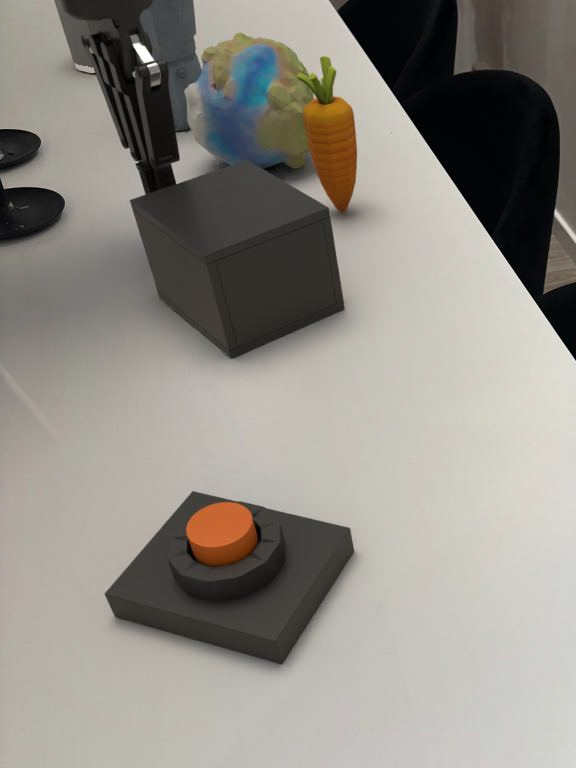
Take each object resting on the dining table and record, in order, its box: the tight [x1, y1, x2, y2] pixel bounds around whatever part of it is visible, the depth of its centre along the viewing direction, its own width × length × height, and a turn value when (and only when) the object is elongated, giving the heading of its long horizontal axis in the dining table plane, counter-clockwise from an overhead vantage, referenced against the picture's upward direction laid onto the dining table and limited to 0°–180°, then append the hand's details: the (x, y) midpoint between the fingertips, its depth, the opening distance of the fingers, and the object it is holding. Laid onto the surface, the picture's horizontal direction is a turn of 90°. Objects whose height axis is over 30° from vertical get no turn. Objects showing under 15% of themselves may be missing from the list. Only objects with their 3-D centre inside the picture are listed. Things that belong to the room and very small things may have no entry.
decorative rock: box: [184, 31, 315, 169], centre depth 107 cm, size 14×16×15 cm
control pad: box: [104, 490, 355, 665], centre depth 61 cm, size 12×10×4 cm
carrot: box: [297, 55, 358, 213], centre depth 96 cm, size 5×5×15 cm
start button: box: [186, 502, 258, 567], centre depth 59 cm, size 4×4×2 cm
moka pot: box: [140, 0, 202, 132], centre depth 115 cm, size 10×15×20 cm, turn 57°
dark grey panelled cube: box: [129, 160, 346, 359], centre depth 85 cm, size 14×12×10 cm
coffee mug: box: [54, 0, 93, 68], centre depth 134 cm, size 13×10×10 cm
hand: (171, 226), depth 95 cm, fingers closed
